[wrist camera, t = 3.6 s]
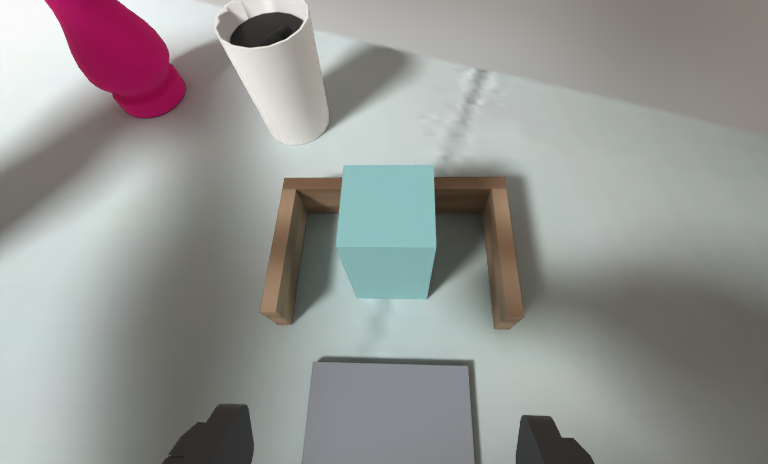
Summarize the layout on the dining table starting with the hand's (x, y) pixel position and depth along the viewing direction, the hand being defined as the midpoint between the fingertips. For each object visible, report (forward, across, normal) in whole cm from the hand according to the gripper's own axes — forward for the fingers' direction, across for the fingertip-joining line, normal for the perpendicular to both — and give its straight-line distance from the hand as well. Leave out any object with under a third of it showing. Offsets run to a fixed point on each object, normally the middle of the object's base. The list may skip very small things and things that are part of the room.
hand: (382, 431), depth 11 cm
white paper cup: (+27, -10, +8) cm, 30 cm away
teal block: (+17, 0, -2) cm, 17 cm away
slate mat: (+8, 0, -10) cm, 13 cm away
